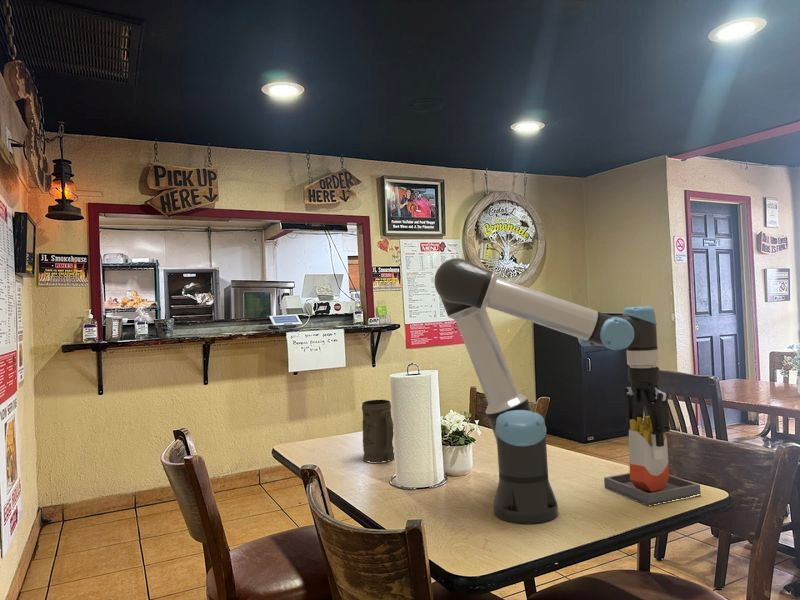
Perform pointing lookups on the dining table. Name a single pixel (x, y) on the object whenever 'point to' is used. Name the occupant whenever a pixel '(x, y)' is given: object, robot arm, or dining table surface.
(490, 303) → the robot arm
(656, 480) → the french fries container
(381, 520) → the dining table surface
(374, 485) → the dining table surface
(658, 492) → the serving tray
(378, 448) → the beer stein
